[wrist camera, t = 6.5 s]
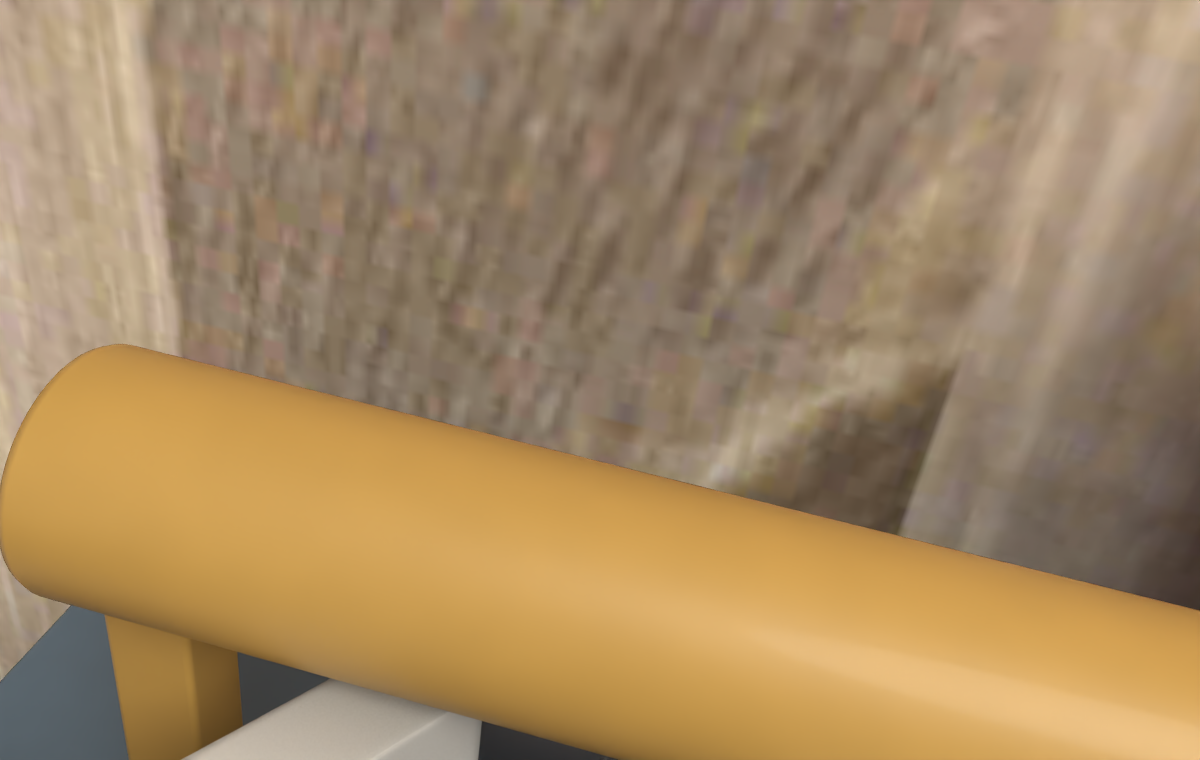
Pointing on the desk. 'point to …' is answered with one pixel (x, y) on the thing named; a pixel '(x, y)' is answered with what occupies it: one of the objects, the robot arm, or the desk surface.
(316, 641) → the drawer
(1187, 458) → the desk surface
